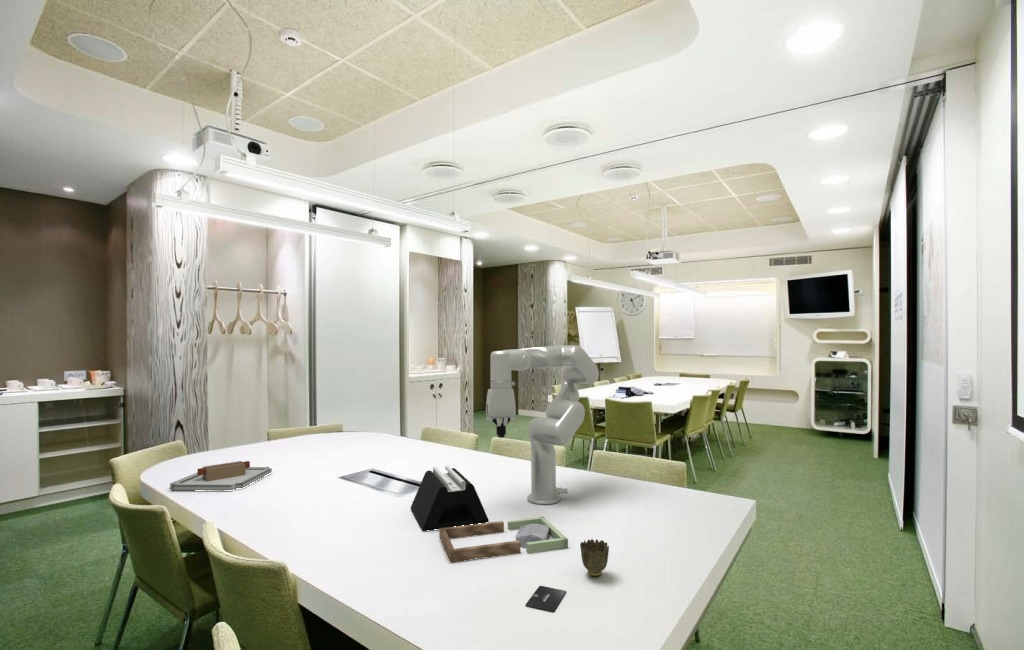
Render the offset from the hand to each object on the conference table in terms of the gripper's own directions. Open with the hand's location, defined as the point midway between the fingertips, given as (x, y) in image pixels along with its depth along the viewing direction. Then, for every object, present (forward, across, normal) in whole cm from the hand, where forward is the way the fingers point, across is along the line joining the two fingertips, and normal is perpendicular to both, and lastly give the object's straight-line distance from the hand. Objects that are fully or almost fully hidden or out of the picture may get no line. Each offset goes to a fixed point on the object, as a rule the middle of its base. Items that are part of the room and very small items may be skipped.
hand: (501, 436), depth 175 cm
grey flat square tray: (+28, +105, -78) cm, 134 cm away
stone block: (+28, -2, +26) cm, 38 cm away
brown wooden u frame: (+27, +14, +24) cm, 39 cm away
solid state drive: (+28, +6, +59) cm, 65 cm away
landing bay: (+27, -4, +24) cm, 36 cm away
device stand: (+28, +18, -4) cm, 33 cm away
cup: (+27, -10, +52) cm, 60 cm away
